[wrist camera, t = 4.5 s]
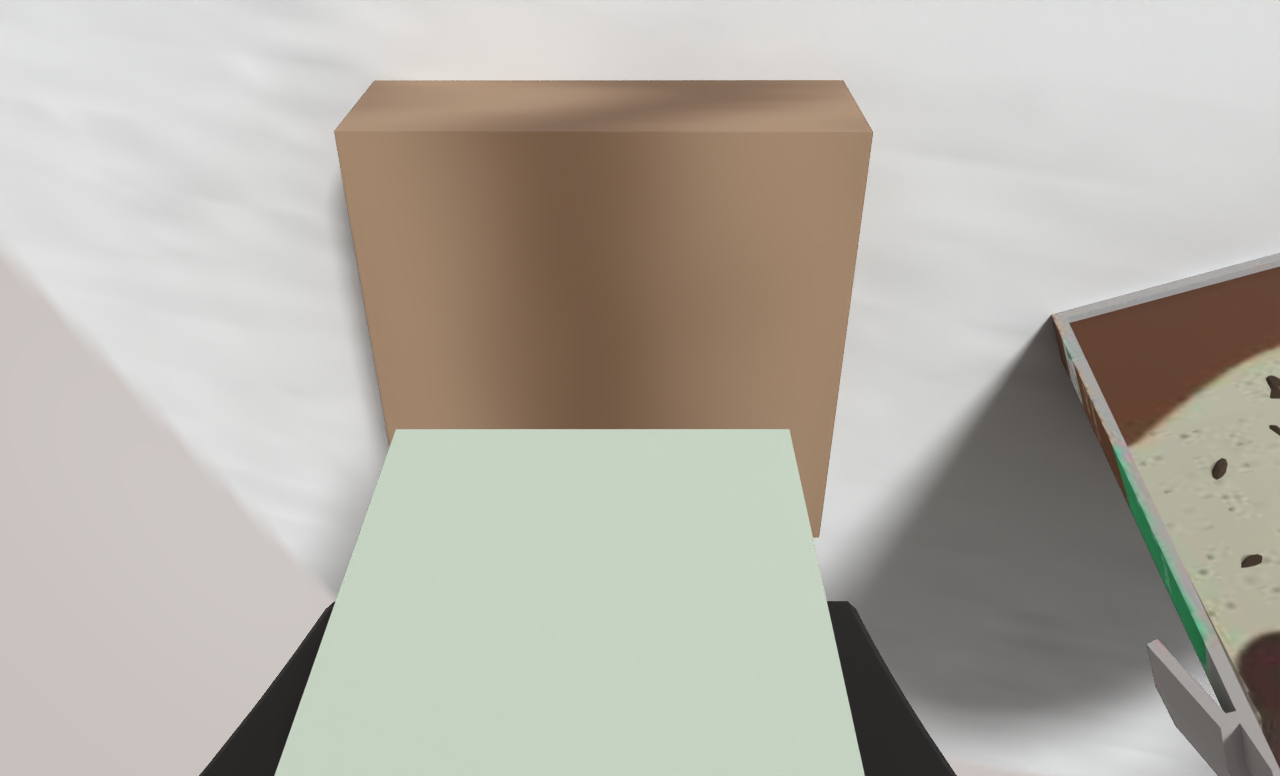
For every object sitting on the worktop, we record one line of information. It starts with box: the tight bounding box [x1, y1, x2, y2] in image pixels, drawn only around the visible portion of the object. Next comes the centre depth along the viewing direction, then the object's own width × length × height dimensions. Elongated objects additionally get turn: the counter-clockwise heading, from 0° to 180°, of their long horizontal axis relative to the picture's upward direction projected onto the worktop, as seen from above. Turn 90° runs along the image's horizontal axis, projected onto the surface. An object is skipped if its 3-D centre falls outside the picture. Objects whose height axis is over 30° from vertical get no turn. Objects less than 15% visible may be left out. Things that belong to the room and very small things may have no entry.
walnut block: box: [334, 80, 873, 537], centre depth 18 cm, size 8×8×3 cm
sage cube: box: [275, 429, 865, 776], centre depth 11 cm, size 4×4×4 cm
